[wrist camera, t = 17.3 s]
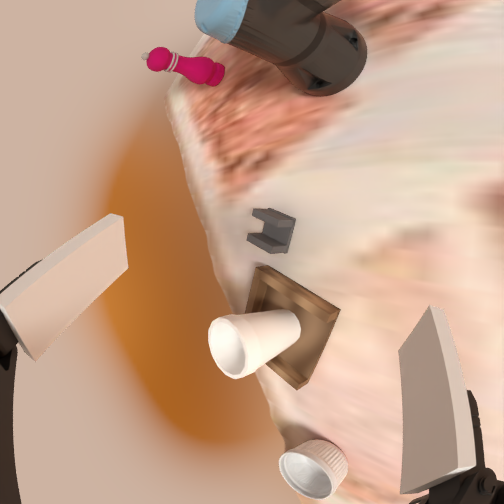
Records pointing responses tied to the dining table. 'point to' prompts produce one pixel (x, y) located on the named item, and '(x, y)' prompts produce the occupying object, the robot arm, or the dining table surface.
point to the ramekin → (314, 468)
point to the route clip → (273, 231)
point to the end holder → (307, 312)
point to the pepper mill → (185, 66)
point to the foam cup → (251, 339)
